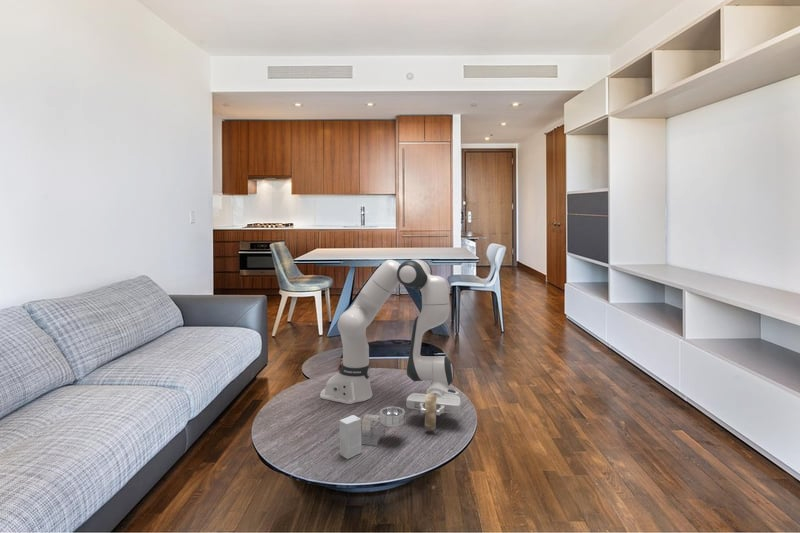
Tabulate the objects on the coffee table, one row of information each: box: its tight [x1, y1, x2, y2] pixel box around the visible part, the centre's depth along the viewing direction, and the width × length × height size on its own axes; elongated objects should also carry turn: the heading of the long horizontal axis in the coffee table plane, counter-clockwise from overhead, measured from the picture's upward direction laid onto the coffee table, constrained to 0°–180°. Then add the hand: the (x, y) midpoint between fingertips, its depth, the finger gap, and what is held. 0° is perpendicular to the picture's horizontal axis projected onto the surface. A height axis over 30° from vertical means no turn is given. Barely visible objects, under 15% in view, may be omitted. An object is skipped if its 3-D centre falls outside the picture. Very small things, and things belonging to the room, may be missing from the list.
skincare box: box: [338, 414, 363, 460], centre depth 151 cm, size 6×4×12 cm
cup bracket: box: [361, 405, 406, 447], centre depth 161 cm, size 18×10×10 cm, turn 76°
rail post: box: [424, 393, 437, 431], centre depth 166 cm, size 4×4×12 cm
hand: (430, 412), depth 165 cm, fingers closed on rail post, 4 cm apart
